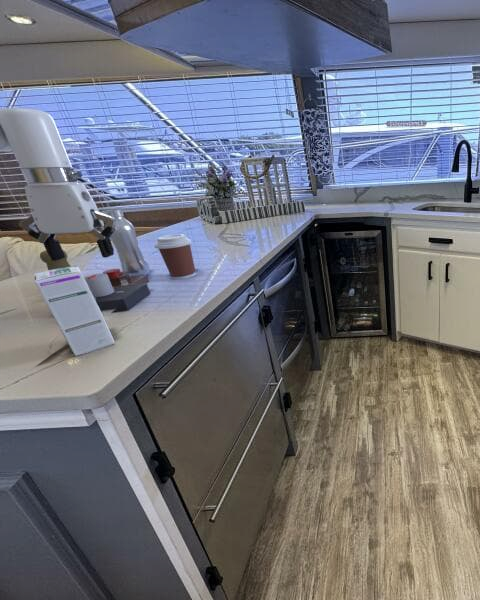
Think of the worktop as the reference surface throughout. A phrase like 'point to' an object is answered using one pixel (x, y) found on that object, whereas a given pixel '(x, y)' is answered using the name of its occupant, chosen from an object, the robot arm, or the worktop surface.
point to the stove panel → (123, 297)
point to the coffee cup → (177, 255)
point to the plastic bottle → (127, 245)
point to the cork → (54, 264)
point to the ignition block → (128, 279)
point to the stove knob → (99, 284)
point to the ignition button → (113, 273)
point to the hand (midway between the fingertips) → (84, 257)
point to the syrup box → (74, 309)
